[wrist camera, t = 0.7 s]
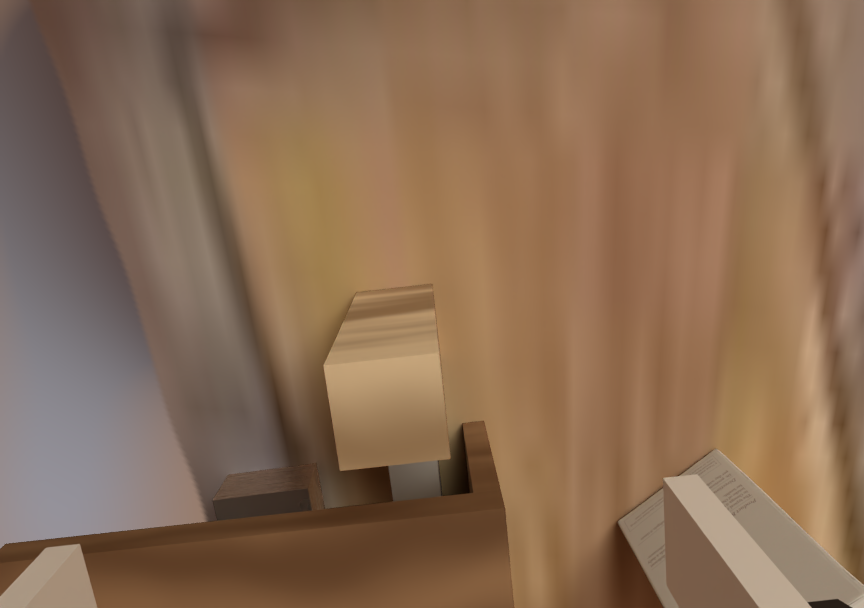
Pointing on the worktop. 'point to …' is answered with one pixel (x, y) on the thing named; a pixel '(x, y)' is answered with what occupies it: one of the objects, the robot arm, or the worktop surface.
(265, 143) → the worktop surface
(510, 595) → the brown wooden stand
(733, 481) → the grey canister
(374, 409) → the tan wood-grain block
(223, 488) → the brown square block
